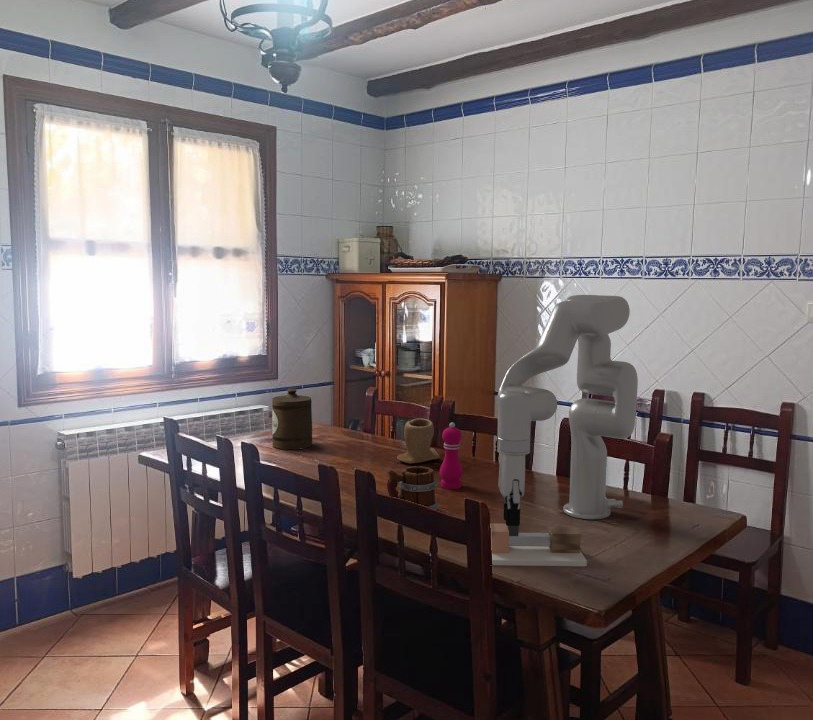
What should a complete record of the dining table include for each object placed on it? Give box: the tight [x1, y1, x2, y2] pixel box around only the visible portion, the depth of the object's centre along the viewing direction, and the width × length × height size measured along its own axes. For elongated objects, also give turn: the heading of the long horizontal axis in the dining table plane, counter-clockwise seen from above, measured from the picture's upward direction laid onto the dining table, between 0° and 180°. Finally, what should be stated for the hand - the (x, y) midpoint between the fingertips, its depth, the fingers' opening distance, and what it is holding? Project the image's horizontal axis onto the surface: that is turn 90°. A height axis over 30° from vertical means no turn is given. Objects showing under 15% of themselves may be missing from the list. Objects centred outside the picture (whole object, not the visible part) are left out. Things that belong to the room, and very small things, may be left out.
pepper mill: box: [439, 422, 464, 490], centre depth 227 cm, size 7×7×20 cm
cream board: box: [492, 546, 588, 567], centre depth 174 cm, size 22×14×1 cm, turn 90°
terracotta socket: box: [489, 522, 509, 553], centre depth 173 cm, size 4×6×5 cm
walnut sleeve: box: [547, 526, 582, 553], centre depth 173 cm, size 6×5×5 cm
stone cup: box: [396, 417, 440, 464], centre depth 257 cm, size 15×12×15 cm
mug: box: [386, 465, 439, 511], centre depth 202 cm, size 12×14×15 cm
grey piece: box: [507, 525, 552, 547], centre depth 173 cm, size 14×2×10 cm, turn 90°
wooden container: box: [271, 387, 313, 450], centre depth 279 cm, size 15×15×22 cm
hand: (511, 521), depth 173 cm, fingers open, 3 cm apart
